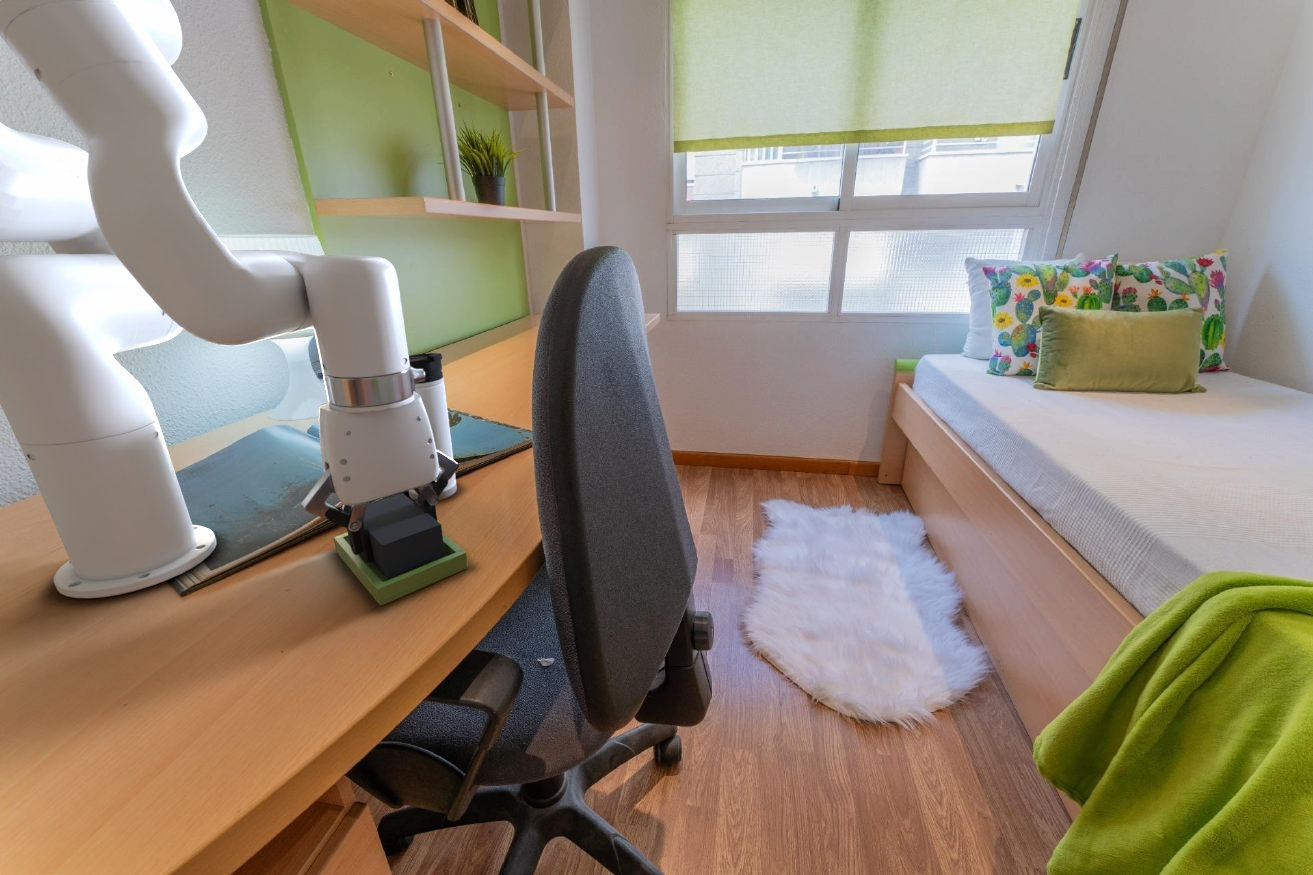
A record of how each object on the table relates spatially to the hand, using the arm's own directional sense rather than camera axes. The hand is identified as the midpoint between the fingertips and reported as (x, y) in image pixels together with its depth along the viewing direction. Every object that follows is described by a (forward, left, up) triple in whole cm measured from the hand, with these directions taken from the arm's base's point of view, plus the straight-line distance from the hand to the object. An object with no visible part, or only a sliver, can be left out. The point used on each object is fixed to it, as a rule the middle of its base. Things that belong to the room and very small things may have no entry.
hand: (397, 543), depth 57 cm
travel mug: (-13, +10, -2) cm, 17 cm away
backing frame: (0, 0, -2) cm, 2 cm away
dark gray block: (0, 0, -1) cm, 1 cm away
